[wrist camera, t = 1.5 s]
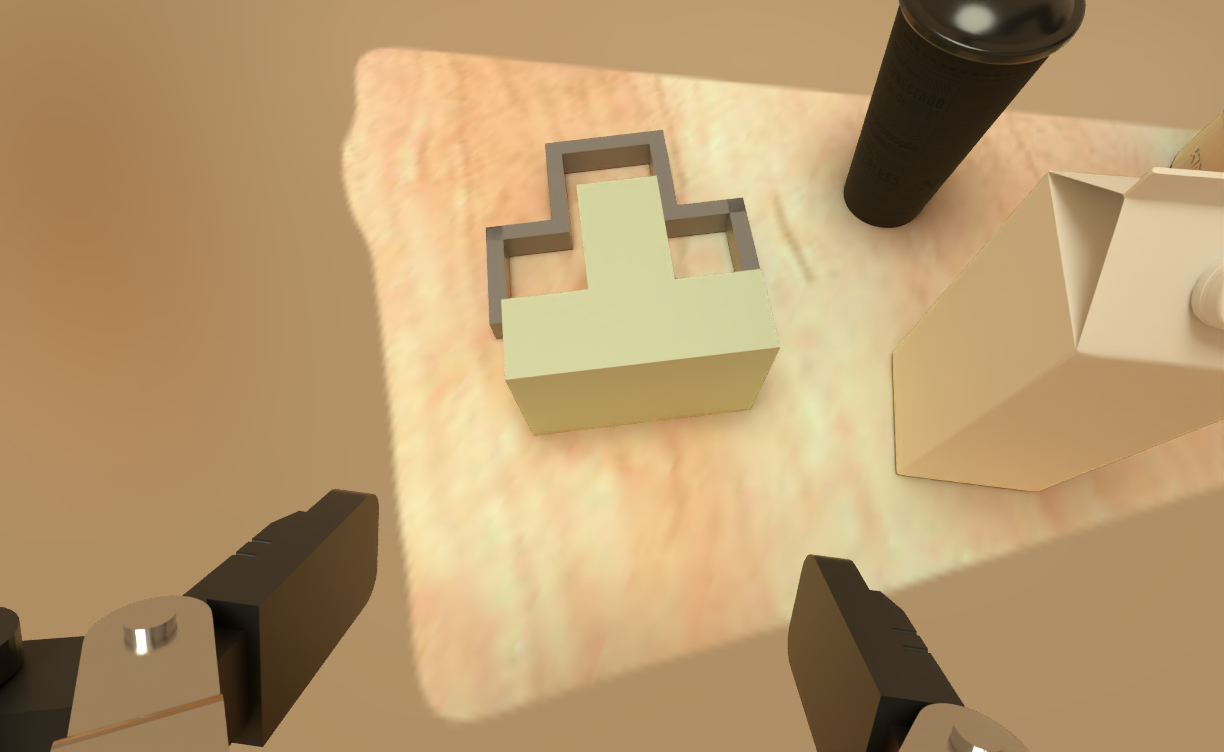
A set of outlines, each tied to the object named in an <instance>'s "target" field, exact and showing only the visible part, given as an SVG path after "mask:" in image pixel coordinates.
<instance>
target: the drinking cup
mask: <svg viewBox="0 0 1224 752" xmlns="http://www.w3.org/2000/svg"><path fill="white" fill-rule="evenodd" d="M899 4H900V5H899V8H898V12H897V15H896V18H895V22H894V25H893V28H892V31H891V35H890V38H889V41H888V44H887V48H886V51H885V54H884V58H883V61H882V64H881V68H880V71H879V74H878V78H877V82H876V84H875V87H874V91H873V94H872V97H871V101H870V104H869V107H868V111H867V114H866V117H865V121H864V124H863V127H862V130H861V134H860V137H859V140H858V144H857V147H856V150H855V154H854V157H853V160H852V164H851V167H850V170H849V174H848V177H847V180H846V183H845V187H844V198H845V201H846V204H847V206H848V208H849V209H850V210H851V211H852V213H853V214H854V215H855V216H857V217H858V218H859V219H861V220H862V221H864V222H866V223H869V224H871V225H874V226H879V227H897V226H901V225H904V224H906V223H908V222H910V221H911V220H913V219H914V218H915V217H916V216H917V215H918V213H919V212H920V211H921V210H922V209H923V207H924V206H925V205H926V204H927V203H928V201H929V200H930V199H931V198H932V197H933V195H934V194H935V193H936V192H937V191H938V189H939V188H940V187H941V186H942V185H943V183H944V182H945V181H946V180H947V178H948V177H949V176H950V175H951V174H952V172H953V171H954V170H955V169H956V168H957V166H958V165H959V164H960V163H961V162H962V160H963V159H964V158H965V157H966V156H967V154H968V153H969V152H970V151H971V150H972V148H973V147H974V146H975V145H976V144H977V142H978V141H979V140H980V139H981V137H982V136H983V135H984V134H985V133H986V131H987V130H988V129H989V128H990V127H991V125H992V124H993V123H994V122H995V121H996V119H997V118H998V117H999V116H1000V115H1001V113H1002V112H1003V111H1004V110H1005V109H1006V107H1007V106H1008V105H1009V104H1010V103H1011V101H1012V100H1013V99H1014V98H1015V96H1016V95H1017V94H1018V93H1019V92H1020V90H1021V89H1022V88H1023V87H1024V86H1025V84H1026V83H1027V82H1028V81H1029V80H1030V78H1031V77H1032V76H1033V74H1034V73H1035V72H1036V71H1037V70H1038V69H1039V68H1040V66H1041V65H1042V64H1043V63H1044V62H1045V60H1046V59H1047V58H1048V57H1049V55H1051V54H1052V53H1054V52H1056V51H1058V50H1059V49H1060V48H1062V47H1063V46H1064V45H1065V44H1067V43H1068V42H1069V41H1070V39H1071V38H1072V37H1073V36H1074V35H1075V33H1076V31H1077V30H1078V29H1079V27H1080V25H1081V23H1082V21H1083V18H1084V14H1085V6H1086V4H1085V0H899Z"/></svg>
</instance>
